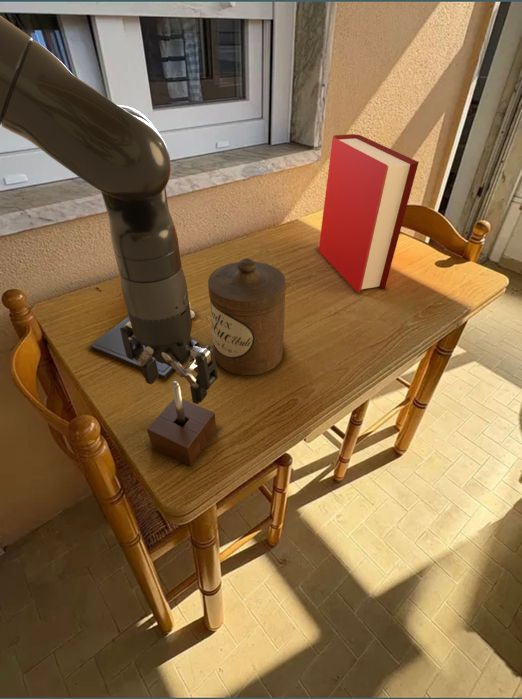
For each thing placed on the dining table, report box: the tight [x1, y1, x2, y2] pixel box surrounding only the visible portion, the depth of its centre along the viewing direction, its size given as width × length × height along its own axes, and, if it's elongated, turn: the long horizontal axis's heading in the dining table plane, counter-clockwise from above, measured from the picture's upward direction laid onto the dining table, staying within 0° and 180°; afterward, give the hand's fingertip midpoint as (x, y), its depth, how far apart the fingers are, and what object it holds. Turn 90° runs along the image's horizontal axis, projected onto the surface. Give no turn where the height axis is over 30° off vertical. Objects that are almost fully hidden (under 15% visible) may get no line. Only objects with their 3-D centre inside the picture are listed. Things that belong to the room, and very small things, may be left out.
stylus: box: [171, 380, 186, 427], centre depth 61 cm, size 1×1×14 cm
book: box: [318, 133, 419, 294], centre depth 101 cm, size 27×8×32 cm, turn 18°
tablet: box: [89, 316, 199, 380], centre depth 83 cm, size 12×20×1 cm, turn 63°
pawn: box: [189, 301, 196, 320], centre depth 91 cm, size 3×3×4 cm
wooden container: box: [207, 257, 287, 376], centre depth 76 cm, size 15×15×22 cm
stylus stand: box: [146, 398, 217, 467], centre depth 64 cm, size 8×8×5 cm
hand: (175, 389), depth 57 cm, fingers open, 8 cm apart
